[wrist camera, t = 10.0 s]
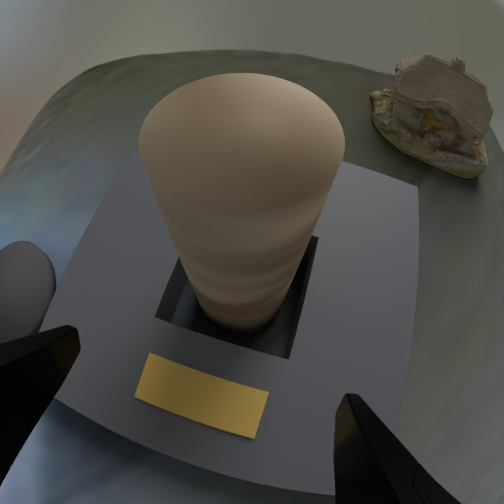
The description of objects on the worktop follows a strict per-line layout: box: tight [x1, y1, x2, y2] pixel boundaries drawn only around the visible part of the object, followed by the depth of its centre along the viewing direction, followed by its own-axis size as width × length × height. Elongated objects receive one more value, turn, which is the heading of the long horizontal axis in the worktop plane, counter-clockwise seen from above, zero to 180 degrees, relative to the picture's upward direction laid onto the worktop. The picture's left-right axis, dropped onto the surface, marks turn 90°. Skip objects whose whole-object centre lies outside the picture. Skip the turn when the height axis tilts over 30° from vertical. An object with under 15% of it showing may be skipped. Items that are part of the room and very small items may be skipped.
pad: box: [0, 241, 56, 343], centre depth 17 cm, size 8×8×1 cm
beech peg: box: [138, 73, 345, 335], centre depth 13 cm, size 5×5×13 cm
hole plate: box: [39, 145, 419, 495], centre depth 17 cm, size 20×20×3 cm
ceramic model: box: [371, 53, 493, 179], centre depth 22 cm, size 14×11×10 cm
